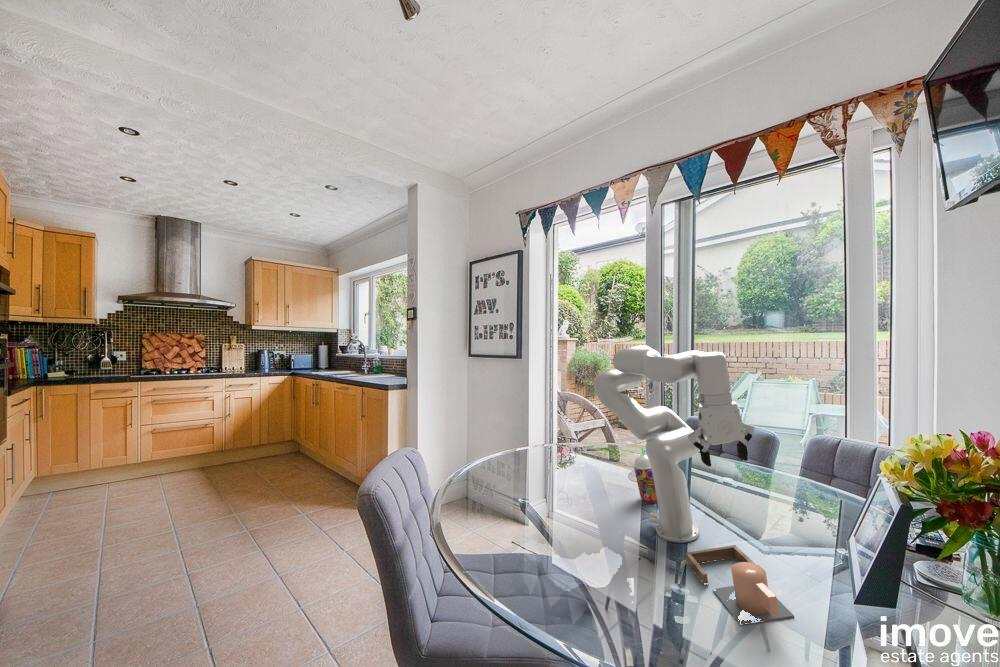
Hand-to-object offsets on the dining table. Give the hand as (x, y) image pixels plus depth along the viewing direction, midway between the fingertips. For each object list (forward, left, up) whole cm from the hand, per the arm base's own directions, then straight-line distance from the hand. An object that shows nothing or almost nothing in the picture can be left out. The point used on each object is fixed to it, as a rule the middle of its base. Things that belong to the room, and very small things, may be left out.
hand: (725, 461), depth 111 cm
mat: (+6, -14, -28) cm, 32 cm away
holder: (-3, -5, -28) cm, 29 cm away
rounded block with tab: (+8, -16, -28) cm, 33 cm away
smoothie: (-37, +25, -28) cm, 53 cm away
